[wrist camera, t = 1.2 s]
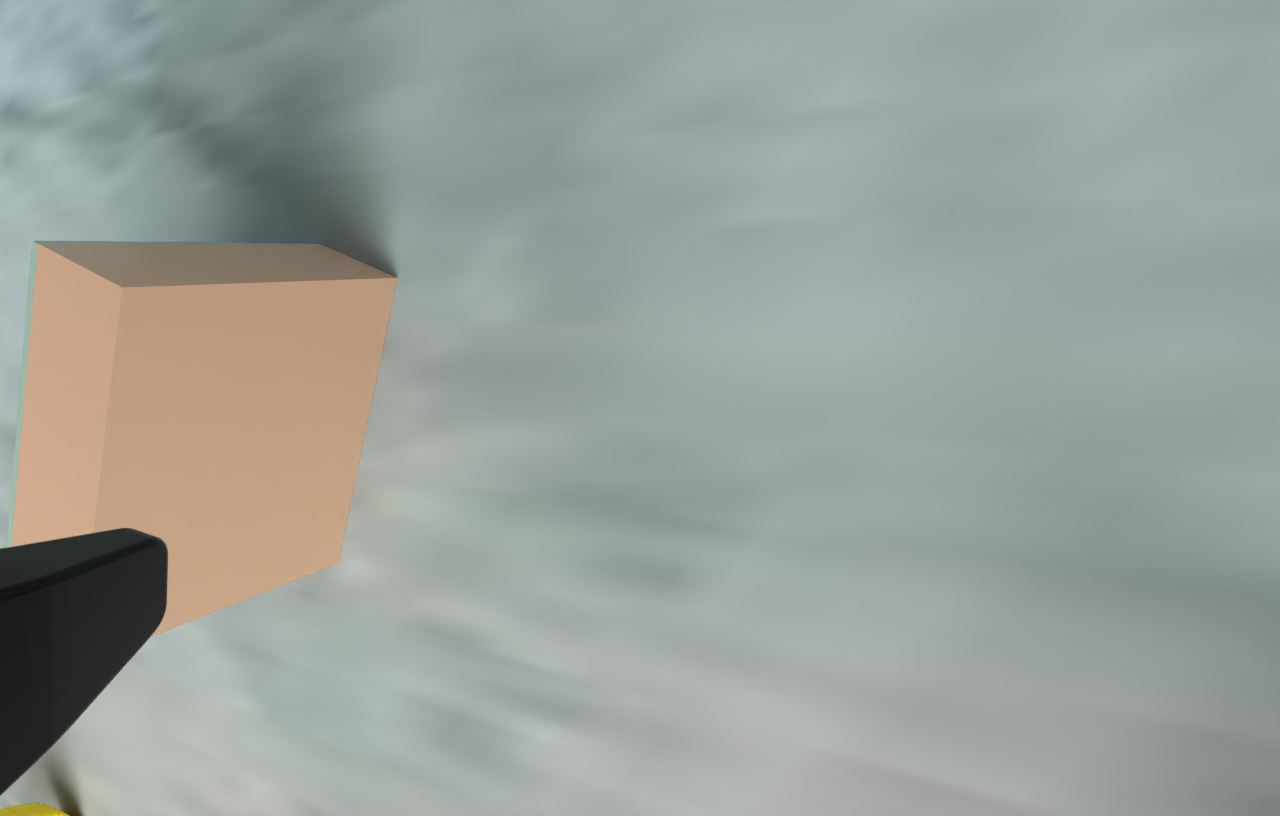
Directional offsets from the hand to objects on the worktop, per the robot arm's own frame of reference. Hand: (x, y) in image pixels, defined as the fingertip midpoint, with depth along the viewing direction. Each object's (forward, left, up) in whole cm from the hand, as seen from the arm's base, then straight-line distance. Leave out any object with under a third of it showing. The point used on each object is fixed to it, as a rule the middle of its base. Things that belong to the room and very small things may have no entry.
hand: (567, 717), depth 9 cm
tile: (+4, +16, -13) cm, 21 cm away
